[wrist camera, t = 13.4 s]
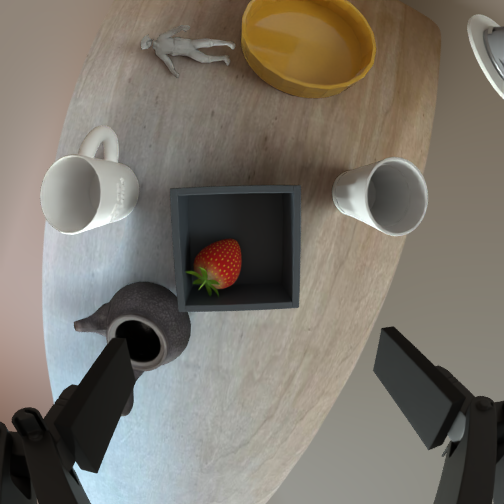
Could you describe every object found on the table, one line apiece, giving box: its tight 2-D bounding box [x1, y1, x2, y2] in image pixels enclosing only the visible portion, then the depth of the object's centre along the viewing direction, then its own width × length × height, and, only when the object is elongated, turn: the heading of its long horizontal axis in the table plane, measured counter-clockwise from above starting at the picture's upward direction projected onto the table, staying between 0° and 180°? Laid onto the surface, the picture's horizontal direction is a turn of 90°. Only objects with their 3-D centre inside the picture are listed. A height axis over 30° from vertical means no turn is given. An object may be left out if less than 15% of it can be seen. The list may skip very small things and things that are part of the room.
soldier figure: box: [141, 25, 235, 78], centre depth 30 cm, size 8×5×12 cm
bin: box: [170, 185, 301, 312], centre depth 35 cm, size 14×14×8 cm
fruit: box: [186, 239, 241, 297], centre depth 35 cm, size 5×5×8 cm
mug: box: [40, 125, 139, 234], centre depth 30 cm, size 8×12×12 cm
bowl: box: [241, 0, 376, 98], centre depth 31 cm, size 18×18×4 cm
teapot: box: [74, 282, 191, 416], centre depth 35 cm, size 19×15×10 cm
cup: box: [332, 157, 428, 236], centre depth 32 cm, size 8×8×12 cm
